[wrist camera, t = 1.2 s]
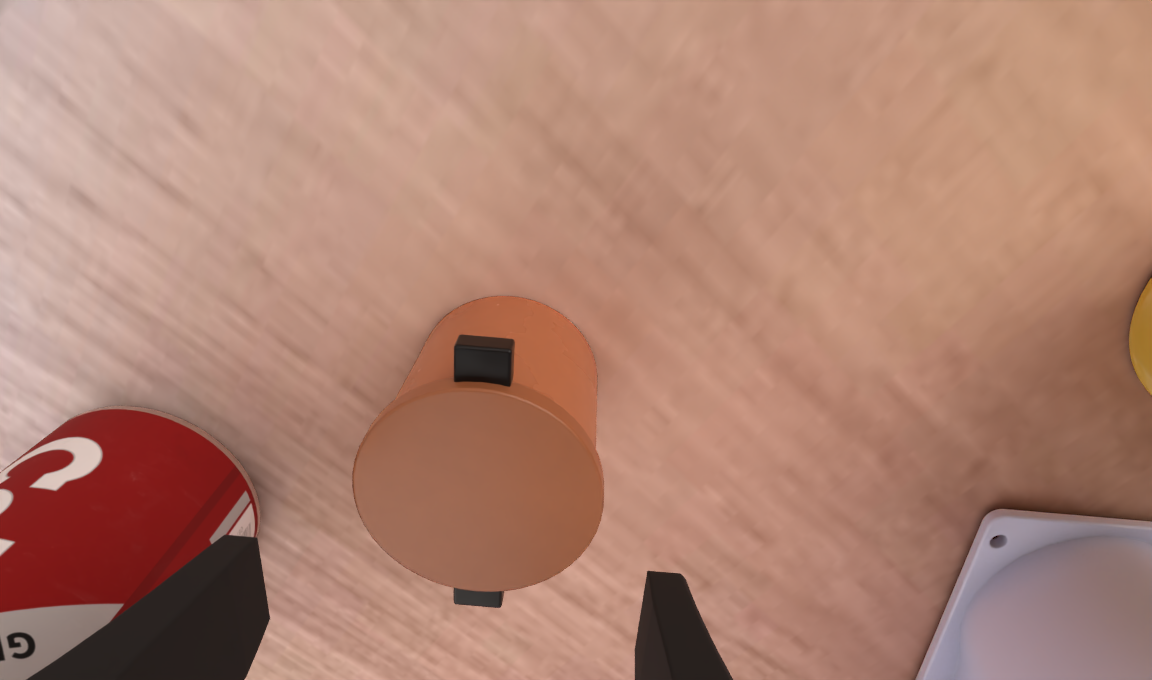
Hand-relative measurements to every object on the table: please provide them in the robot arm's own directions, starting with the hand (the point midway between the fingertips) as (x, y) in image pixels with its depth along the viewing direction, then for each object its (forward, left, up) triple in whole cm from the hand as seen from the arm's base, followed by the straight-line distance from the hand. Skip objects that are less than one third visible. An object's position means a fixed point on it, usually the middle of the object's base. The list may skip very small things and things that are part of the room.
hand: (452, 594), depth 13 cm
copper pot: (0, 0, -8) cm, 8 cm away
